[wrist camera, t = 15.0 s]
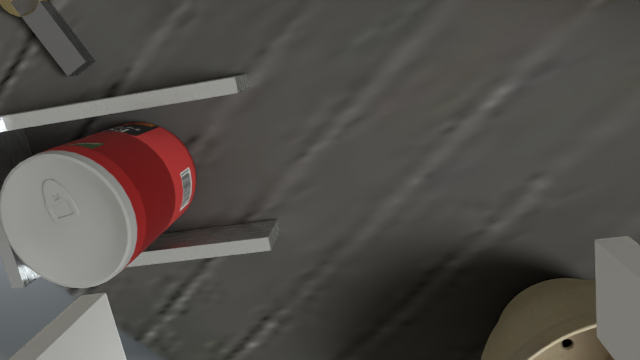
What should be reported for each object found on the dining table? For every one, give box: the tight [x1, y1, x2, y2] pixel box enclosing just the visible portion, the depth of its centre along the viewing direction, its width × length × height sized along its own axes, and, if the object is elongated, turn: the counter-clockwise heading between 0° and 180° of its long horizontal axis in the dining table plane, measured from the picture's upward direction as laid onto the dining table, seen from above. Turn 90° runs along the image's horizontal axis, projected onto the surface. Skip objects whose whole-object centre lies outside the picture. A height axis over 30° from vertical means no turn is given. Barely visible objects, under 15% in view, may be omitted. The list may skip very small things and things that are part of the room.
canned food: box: [0, 122, 196, 288], centre depth 32 cm, size 8×8×11 cm
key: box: [0, 0, 95, 76], centre depth 34 cm, size 8×3×1 cm, turn 35°
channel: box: [0, 74, 280, 288], centre depth 35 cm, size 12×19×5 cm, turn 99°
